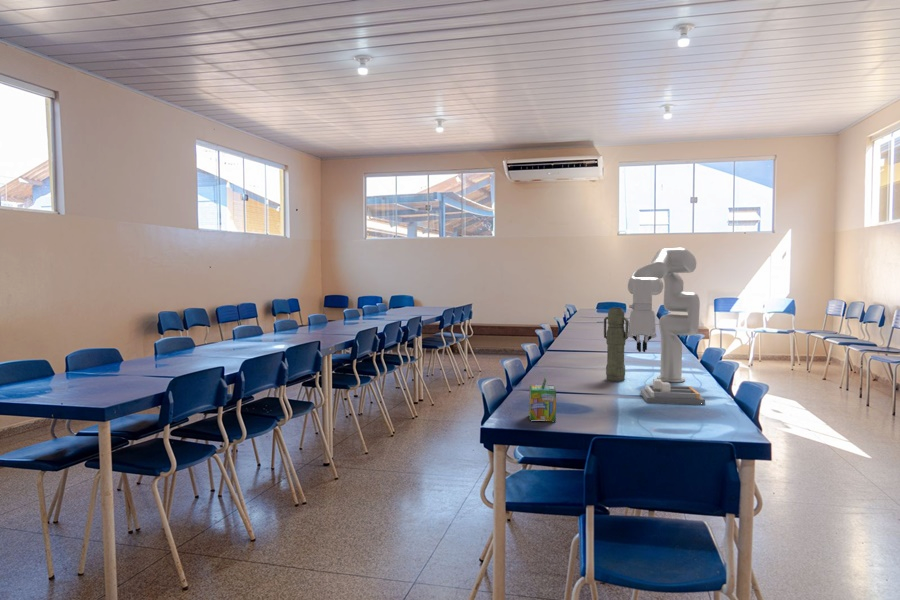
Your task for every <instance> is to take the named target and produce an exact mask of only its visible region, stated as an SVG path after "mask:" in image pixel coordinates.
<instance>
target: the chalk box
mask: <svg viewBox="0 0 900 600" xmlns="http://www.w3.org/2000/svg"><path fill="white" fill-rule="evenodd" d="M546 382H547V378H546V377H544V379H543V381H542V384H529V395H528V396H529V400H528V403H529V404H528V405H529V406H528V417H529V416H530V417H529V421H530V420H545V421H546V420H547V421H556V422H557V420H556V419H557V418H556V417H557V416H556V415H557V414H556V410H557V409H556V407H557V390H556V387H555V385H546Z"/></svg>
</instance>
